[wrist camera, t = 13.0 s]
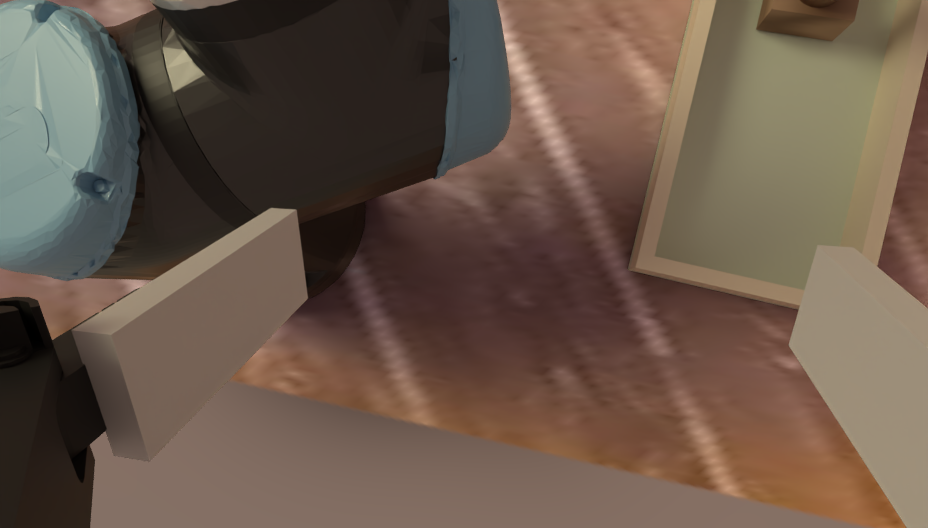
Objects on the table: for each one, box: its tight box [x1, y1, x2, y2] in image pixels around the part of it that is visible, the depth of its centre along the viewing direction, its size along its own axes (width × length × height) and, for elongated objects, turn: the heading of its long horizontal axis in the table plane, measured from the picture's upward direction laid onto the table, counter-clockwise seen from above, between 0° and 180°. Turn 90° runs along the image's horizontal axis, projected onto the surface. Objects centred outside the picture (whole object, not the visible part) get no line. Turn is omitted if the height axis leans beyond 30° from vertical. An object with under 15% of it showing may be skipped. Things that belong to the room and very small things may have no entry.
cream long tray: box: [628, 0, 928, 310], centre depth 35 cm, size 14×34×9 cm, turn 166°
